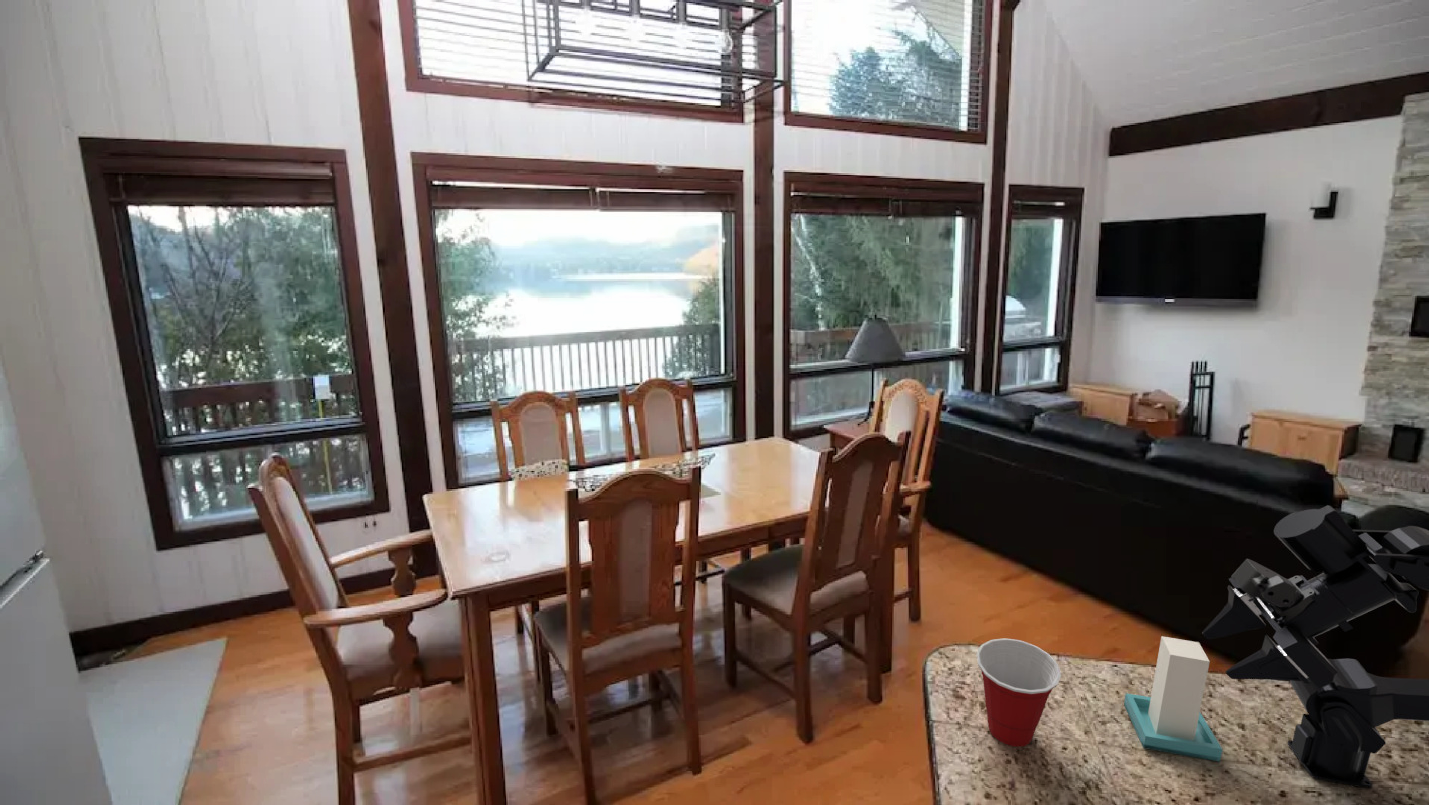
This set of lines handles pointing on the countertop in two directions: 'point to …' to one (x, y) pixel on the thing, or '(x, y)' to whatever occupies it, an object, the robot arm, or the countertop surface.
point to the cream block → (1178, 688)
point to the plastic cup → (1015, 687)
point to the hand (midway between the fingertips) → (1215, 654)
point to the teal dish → (1199, 748)
